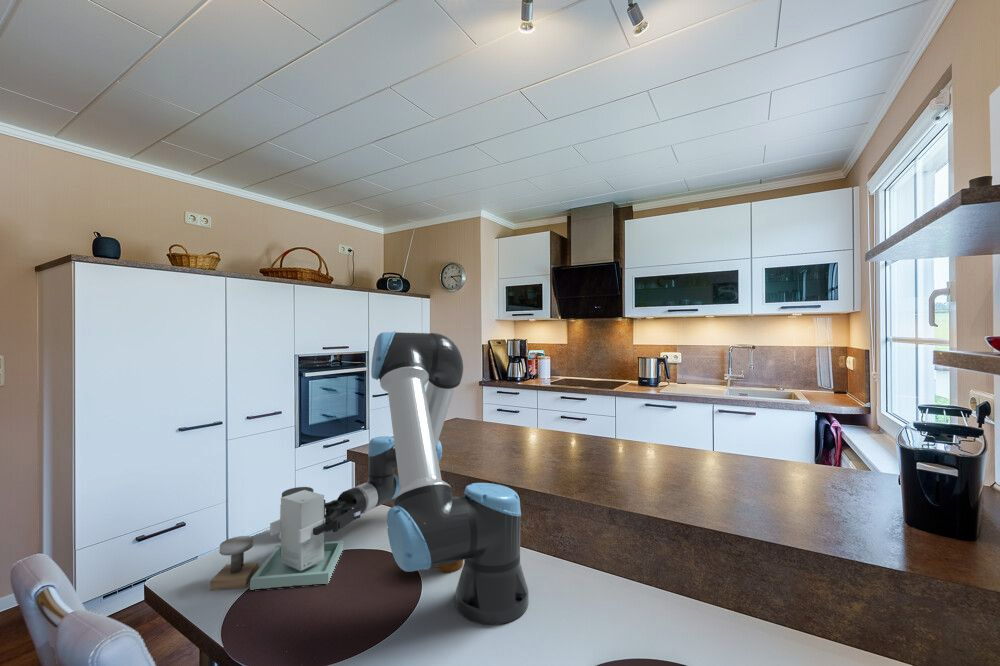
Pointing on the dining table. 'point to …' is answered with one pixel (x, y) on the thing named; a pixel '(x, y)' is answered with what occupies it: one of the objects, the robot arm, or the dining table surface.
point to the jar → (292, 491)
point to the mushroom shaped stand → (235, 565)
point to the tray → (284, 575)
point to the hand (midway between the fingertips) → (285, 533)
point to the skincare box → (297, 516)
